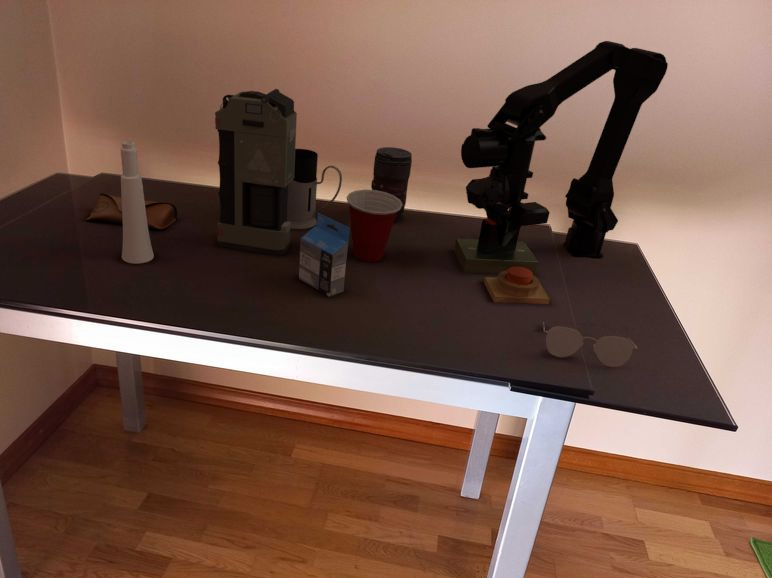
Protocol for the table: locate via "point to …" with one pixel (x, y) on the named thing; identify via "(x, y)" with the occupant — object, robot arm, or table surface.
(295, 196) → the glass holder
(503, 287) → the button block
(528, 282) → the button
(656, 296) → the table surface
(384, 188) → the camera lens
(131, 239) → the cosmetic bottle
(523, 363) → the table surface
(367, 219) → the plastic cup
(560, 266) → the table surface
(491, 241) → the selector
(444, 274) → the table surface
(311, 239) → the ink cartridge box
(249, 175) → the device
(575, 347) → the sunglasses
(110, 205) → the sunglasses case
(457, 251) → the panel
